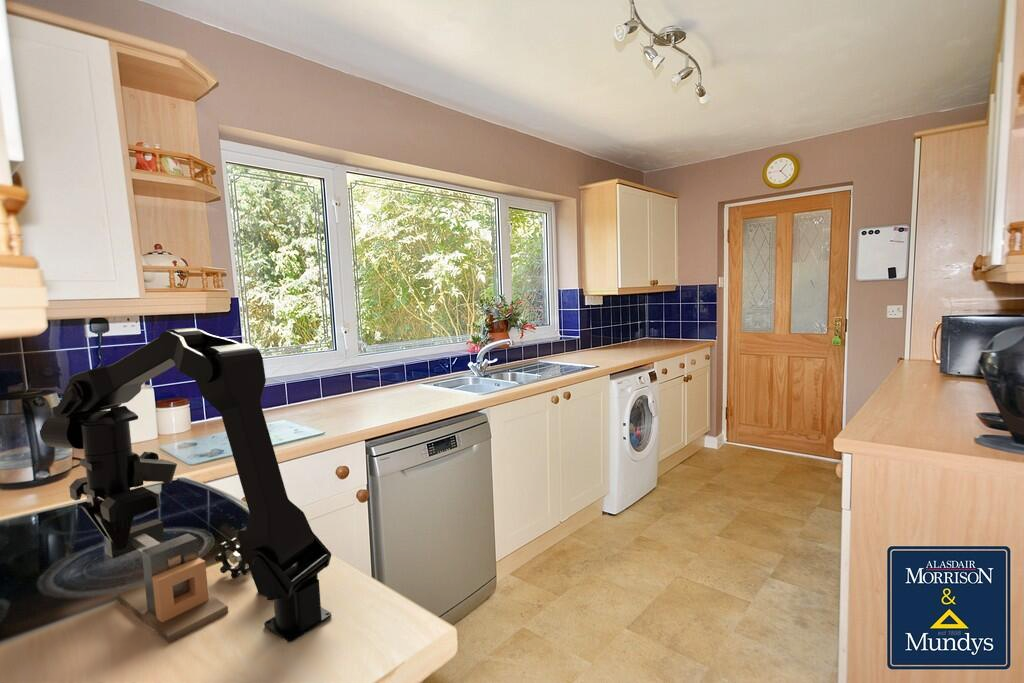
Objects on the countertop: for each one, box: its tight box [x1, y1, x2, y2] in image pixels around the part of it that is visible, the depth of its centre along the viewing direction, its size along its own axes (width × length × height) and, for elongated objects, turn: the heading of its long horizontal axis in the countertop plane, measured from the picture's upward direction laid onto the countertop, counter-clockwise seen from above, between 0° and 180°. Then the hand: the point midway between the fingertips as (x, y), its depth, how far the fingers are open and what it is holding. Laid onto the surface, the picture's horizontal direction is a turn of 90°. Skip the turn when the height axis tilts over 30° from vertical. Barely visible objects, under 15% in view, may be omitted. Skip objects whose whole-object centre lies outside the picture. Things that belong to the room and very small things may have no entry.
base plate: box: [117, 582, 229, 644], centre depth 73 cm, size 18×8×1 cm, turn 56°
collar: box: [152, 557, 209, 622], centre depth 71 cm, size 2×6×6 cm, turn 145°
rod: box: [104, 518, 181, 570], centre depth 76 cm, size 16×7×3 cm, turn 56°
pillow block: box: [141, 533, 200, 617], centre depth 72 cm, size 3×6×9 cm, turn 145°
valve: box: [214, 537, 251, 579], centre depth 86 cm, size 7×7×12 cm
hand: (118, 546), depth 78 cm, fingers closed on rod, 2 cm apart
